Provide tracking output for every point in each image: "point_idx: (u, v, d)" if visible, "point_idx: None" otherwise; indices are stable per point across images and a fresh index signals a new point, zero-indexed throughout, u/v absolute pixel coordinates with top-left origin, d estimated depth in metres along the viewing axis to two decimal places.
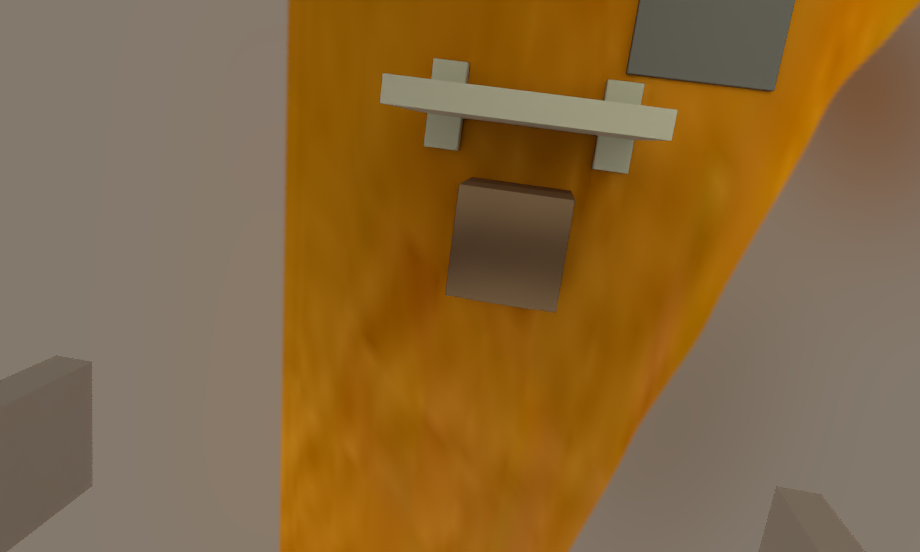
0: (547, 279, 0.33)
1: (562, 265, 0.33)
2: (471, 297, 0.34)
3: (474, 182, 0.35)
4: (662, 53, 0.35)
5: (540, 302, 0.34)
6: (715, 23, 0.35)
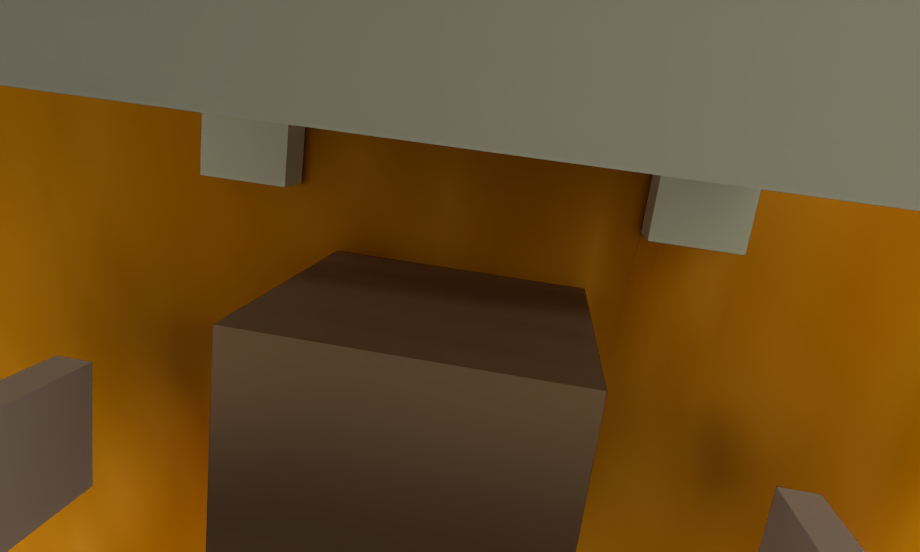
0: None
1: None
2: None
3: (304, 290, 0.12)
4: None
5: None
6: None
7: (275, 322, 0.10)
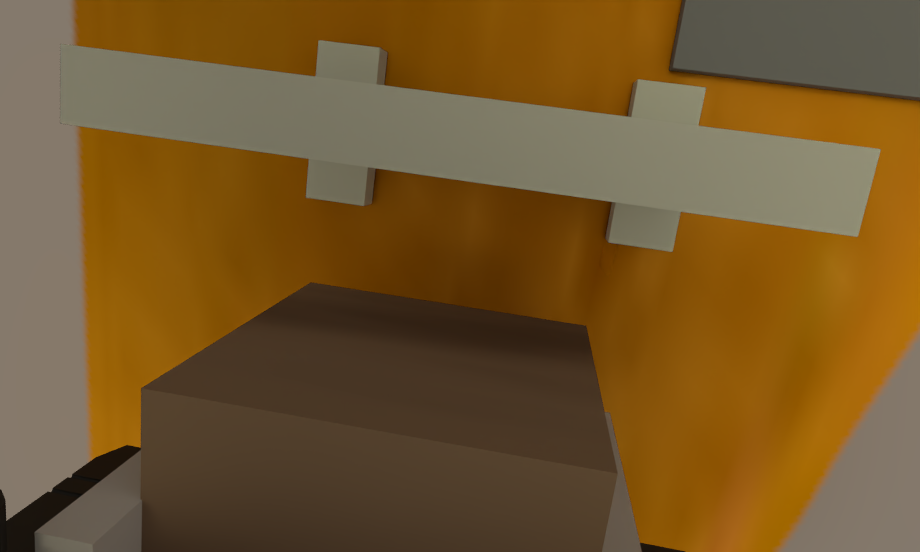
0: None
1: None
2: None
3: (263, 336, 0.10)
4: (739, 31, 0.19)
5: None
6: None
7: (219, 382, 0.08)
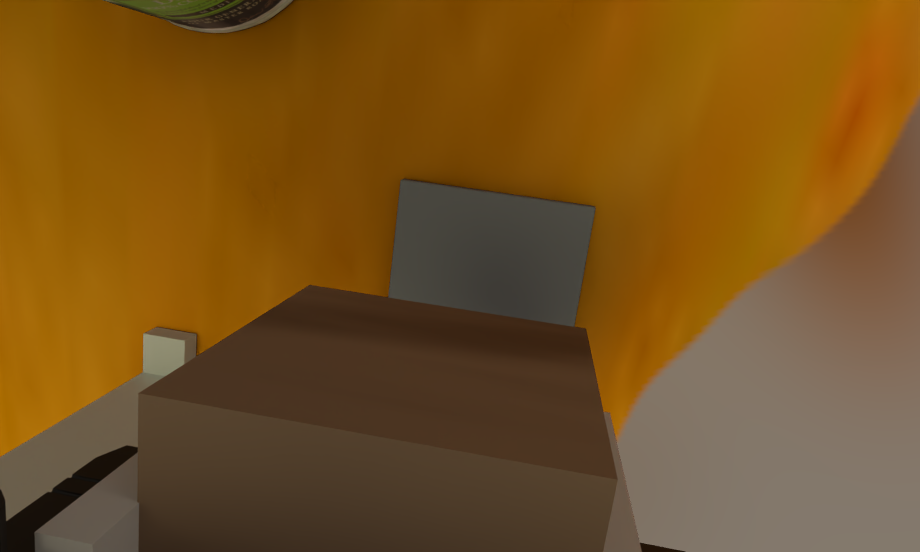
0: None
1: None
2: None
3: (261, 340, 0.10)
4: None
5: None
6: (484, 309, 0.27)
7: (217, 387, 0.08)
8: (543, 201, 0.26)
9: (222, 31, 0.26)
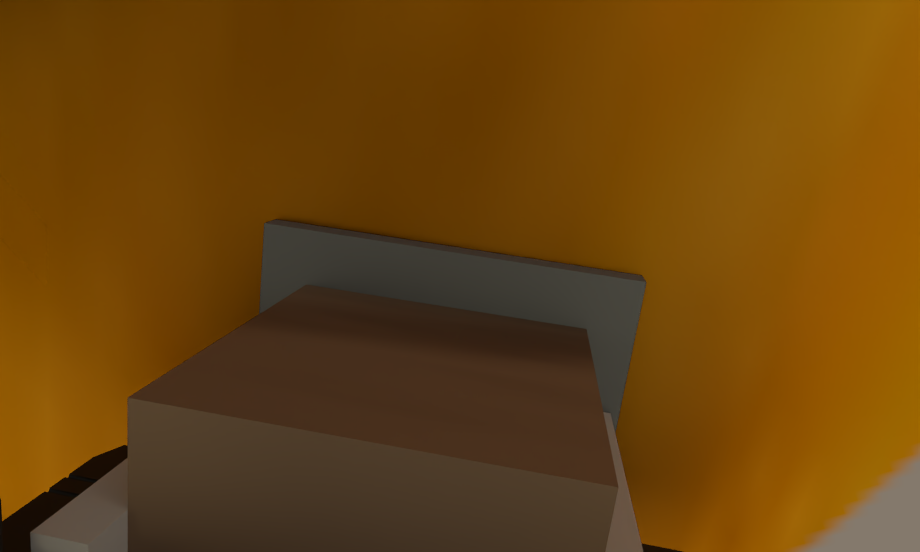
0: None
1: None
2: None
3: (255, 342, 0.10)
4: None
5: None
6: None
7: (209, 391, 0.08)
8: (542, 267, 0.13)
9: None
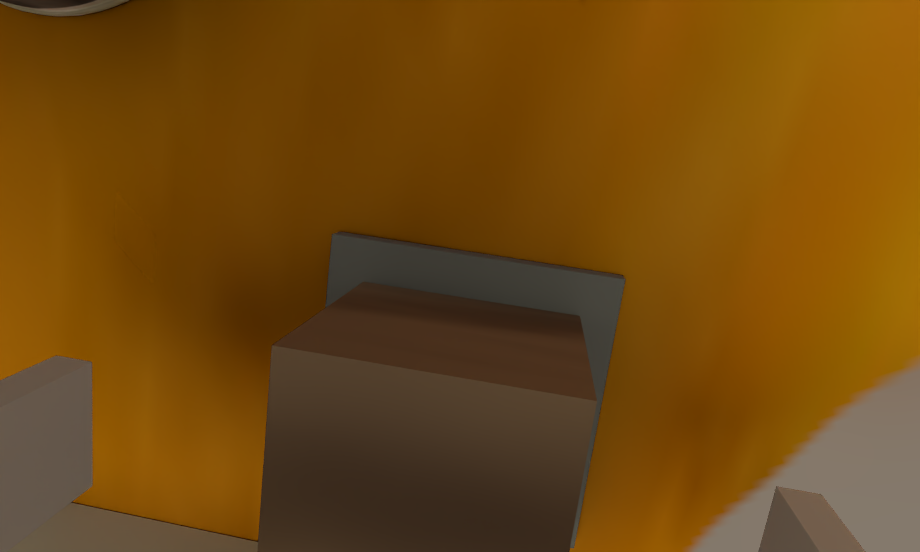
0: None
1: None
2: None
3: (340, 317, 0.14)
4: None
5: None
6: None
7: (321, 343, 0.12)
8: (545, 268, 0.17)
9: (69, 14, 0.18)
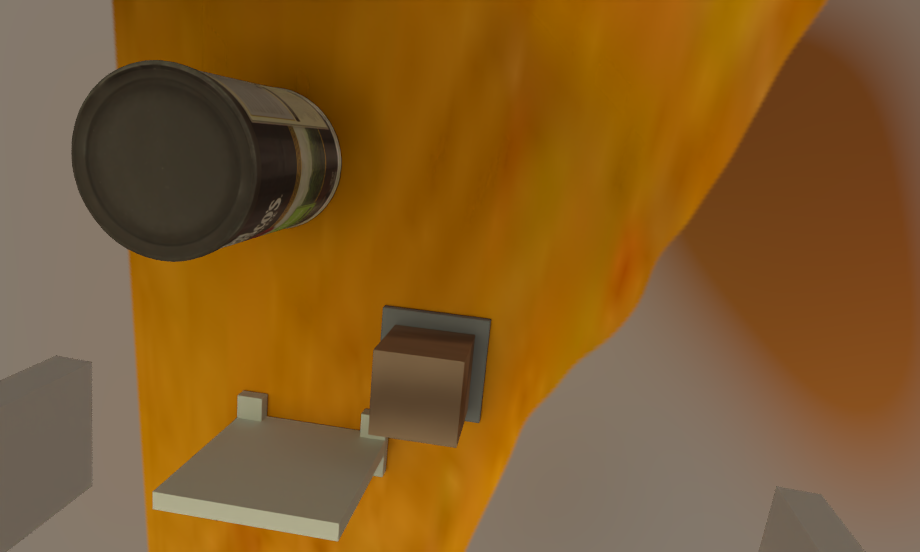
0: (447, 422, 0.42)
1: (458, 411, 0.41)
2: (388, 436, 0.42)
3: (390, 339, 0.44)
4: None
5: (443, 440, 0.42)
6: None
7: (387, 348, 0.42)
8: (461, 318, 0.46)
9: None
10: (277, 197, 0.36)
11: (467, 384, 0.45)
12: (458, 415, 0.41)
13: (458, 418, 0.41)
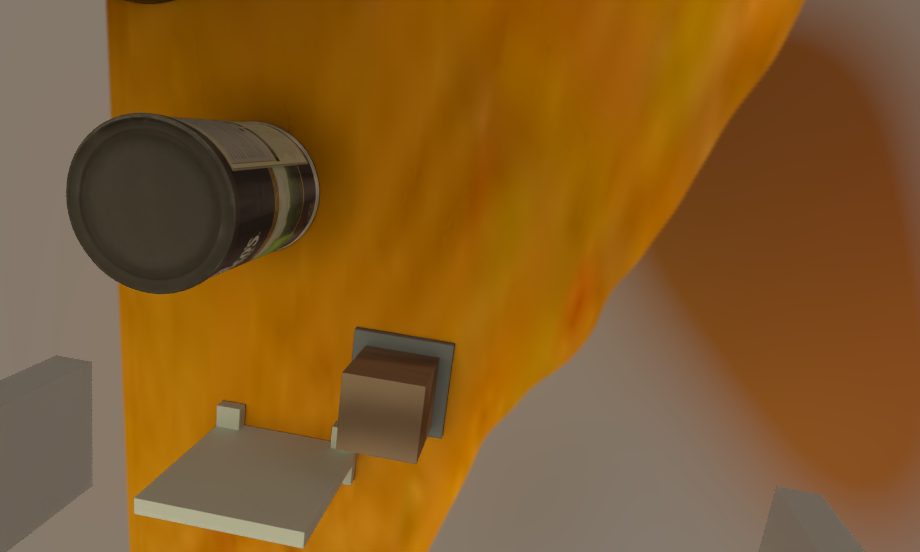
0: (408, 440, 0.45)
1: (419, 431, 0.45)
2: (354, 451, 0.46)
3: (359, 362, 0.47)
4: None
5: (404, 456, 0.45)
6: None
7: (355, 371, 0.45)
8: (427, 342, 0.50)
9: None
10: (256, 235, 0.39)
11: (430, 404, 0.48)
12: (418, 435, 0.45)
13: (418, 437, 0.45)
